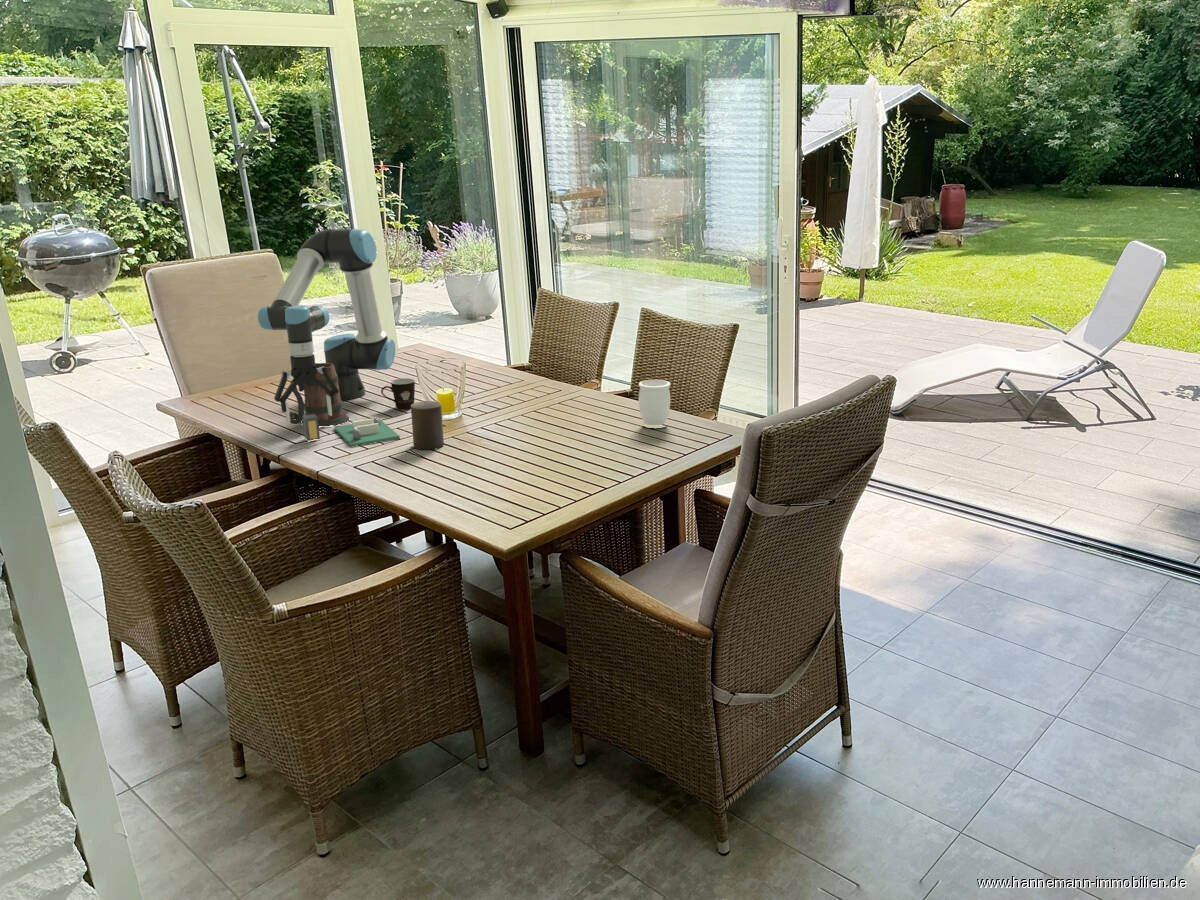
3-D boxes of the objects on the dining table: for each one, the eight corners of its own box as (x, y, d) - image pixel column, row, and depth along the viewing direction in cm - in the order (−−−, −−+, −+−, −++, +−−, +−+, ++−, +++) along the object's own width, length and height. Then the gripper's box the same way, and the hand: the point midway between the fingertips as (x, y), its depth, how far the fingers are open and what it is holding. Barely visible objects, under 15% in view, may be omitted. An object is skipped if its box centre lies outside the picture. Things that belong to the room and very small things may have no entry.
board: (334, 429, 330) (333, 418, 329) (380, 422, 338) (379, 411, 336) (351, 447, 312) (350, 435, 311) (399, 438, 319) (398, 427, 318)
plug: (305, 439, 321) (302, 416, 319) (317, 437, 323) (314, 414, 321) (308, 442, 318) (305, 419, 315) (320, 440, 320) (317, 417, 317)
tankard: (327, 411, 352) (320, 357, 346) (360, 418, 343) (354, 363, 337) (274, 428, 334) (267, 372, 327) (308, 435, 325) (300, 378, 318)
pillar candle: (430, 452, 306) (427, 406, 301) (407, 447, 311) (403, 402, 306) (450, 443, 313) (447, 399, 309) (427, 439, 318) (424, 395, 314)
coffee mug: (419, 404, 358) (417, 378, 355) (413, 411, 350) (411, 384, 347) (389, 404, 359) (386, 378, 356) (382, 410, 351) (379, 384, 348)
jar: (674, 423, 328) (674, 380, 324) (663, 432, 320) (663, 388, 315) (645, 420, 333) (645, 378, 328) (634, 428, 324) (633, 385, 319)
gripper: (264, 361, 303) (272, 426, 309) (343, 351, 314) (350, 414, 320) (259, 357, 309) (268, 420, 315) (337, 347, 320) (344, 409, 327)
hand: (309, 418), depth 318 cm, fingers open, 13 cm apart
